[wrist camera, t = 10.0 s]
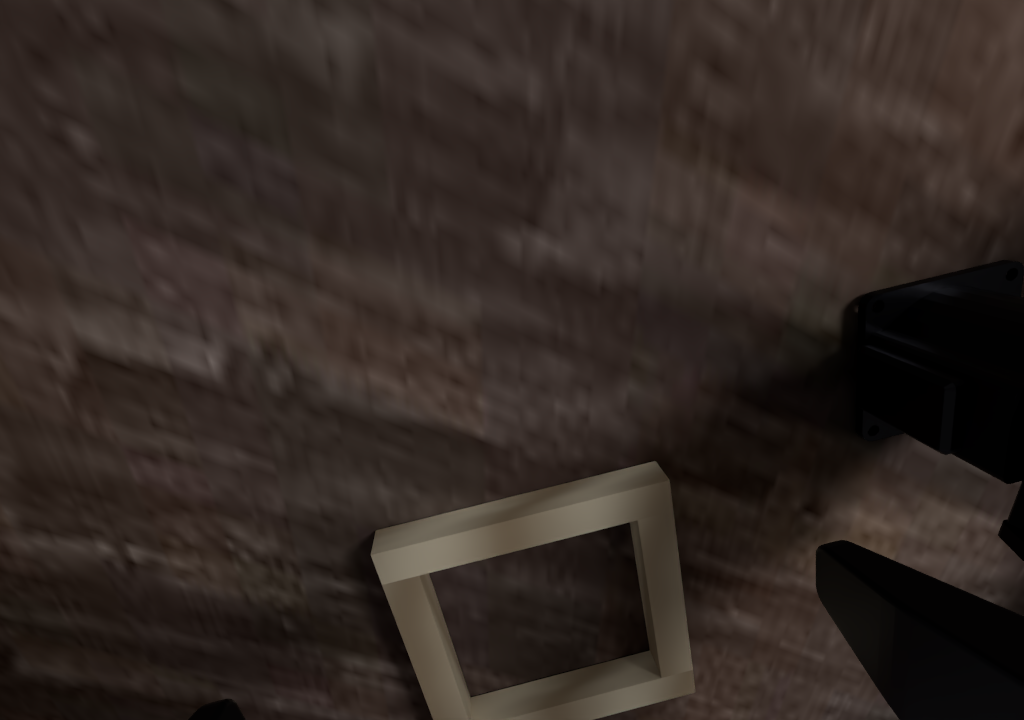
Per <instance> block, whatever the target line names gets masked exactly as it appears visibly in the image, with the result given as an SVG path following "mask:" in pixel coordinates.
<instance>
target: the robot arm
mask: <svg viewBox="0 0 1024 720" xmlns="http://www.w3.org/2000/svg"><path fill="white" fill-rule="evenodd" d="M1006 274H1007V275H1006ZM1023 275H1024V267H1023V265H1022V263H1020V262H1017V261H1010V260H1002V261H998V262H994V263H990V264H986V265H982V266H977V267H973V268H969V269H965V270H961V271H957V272H952V273H948V274H944V275H940V276H936V277H932V278H927V279H923V280H919V281H915V282H911V283H907V284H902V285H898V286H894V287H890V288H886V289H882V290H877V291H873V292H870V293H868V294H866V295H865V296H864V297H862V299H861V301H860V302H859V307H858V344H857V385H856V426H855V430H856V433H857V435H858V436H860V437H861V438H863V439H865V440H867V441H875V440H879V439H883V438H887V437H891V436H895V435H899V434H903V433H905V434H907V435H909V436H911V437H913V438H914V439H916V440H918V441H920V442H922V443H923V444H925V445H927V446H929V447H931V448H932V449H934V450H936V451H938V452H940V453H941V454H944V455H947V454H953V455H955V456H956V457H958V458H960V459H962V460H964V461H966V462H968V463H969V464H971V465H973V466H975V467H977V468H979V469H980V470H982V471H984V472H986V473H988V474H990V475H991V476H993V477H995V478H997V479H999V480H1001V481H1002V482H1004V483H1006V484H1011V483H1015V482H1019V481H1022V483H1021V486H1020V489H1019V491H1018V494H1017V496H1016V499H1015V502H1014V504H1013V507H1012V510H1011V512H1010V515H1009V517H1008V520H1003V523H1002V526H1001V528H1000V531H999V533H998V536H999V537H1000V538H1001V539H1002V540H1003V541H1004V542H1005V543H1006V544H1007V545H1008V546H1009V547H1010V548H1011V549H1012V550H1013V551H1014V552H1015V553H1016V554H1017V555H1018V556H1019V557H1020V558H1021V559H1022V560H1023V561H1024V298H1023V297H1021V290H1022V282H1023ZM875 302H877V304H876V306H875V308H874V309H872V306H873V304H874V303H875ZM870 427H871V429H870V430H869V428H870ZM868 430H869V431H868ZM816 589H817V593H818V595H819V598H820V600H821V602H822V604H823V605H824V607H825V608H826V610H827V611H828V613H829V615H830V616H831V618H832V619H833V621H834V622H835V624H836V625H837V627H838V628H839V630H840V631H841V633H842V635H843V636H844V638H845V639H846V641H847V642H848V644H849V645H850V647H851V648H852V650H853V651H854V653H855V655H856V656H857V658H858V659H859V661H860V662H861V664H862V665H863V667H864V668H865V670H866V671H867V673H868V674H869V676H870V678H871V679H872V681H873V682H874V684H875V685H876V687H877V688H878V690H879V691H880V693H881V694H882V696H883V697H884V699H885V700H886V701H887V703H888V704H889V706H890V707H891V708H892V710H893V711H894V712H895V714H896V715H897V716H898V718H899V719H900V720H1024V616H1022V615H1019V614H1017V613H1015V612H1012V611H1010V610H1008V609H1005V608H1003V607H1001V606H998V605H996V604H994V603H991V602H989V601H987V600H984V599H982V598H980V597H977V596H975V595H973V594H970V593H968V592H966V591H963V590H961V589H959V588H956V587H954V586H952V585H949V584H947V583H945V582H942V581H940V580H938V579H936V578H933V577H931V576H929V575H926V574H924V573H922V572H919V571H917V570H915V569H912V568H910V567H908V566H905V565H903V564H901V563H898V562H896V561H894V560H891V559H889V558H887V557H884V556H882V555H880V554H877V553H875V552H873V551H870V550H868V549H866V548H863V547H861V546H859V545H856V544H854V543H852V542H849V541H845V540H840V541H835V542H832V543H828V544H824V545H821V546H819V547H818V549H817V550H816ZM188 720H246V719H245V717H244V716H243V714H242V712H241V710H240V709H239V707H238V705H237V703H236V702H235V701H233V700H232V699H224V700H220V701H216V702H212V703H208V704H205V705H203V706H201V707H200V708H199V709H198V710H197V711H196V712H195V713H194V714H193V715H192V716H191V717H190V718H189V719H188Z"/></svg>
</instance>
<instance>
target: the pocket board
mask: <svg viewBox="0 0 1024 720" xmlns="http://www.w3.org/2000/svg"><path fill="white" fill-rule="evenodd" d="M629 522H630V528H631V535H632V541H633V547H634V554H635V560H636V566H637V573H638V579H639V585H640V592H641V598H642V604H643V610H644V617H645V623H646V629H647V636H648V642H649V648H650V651H646V652H642V653H638V654H634V655H631V656H627V657H623V658H619V659H615V660H612V661H608V662H604V663H600V664H596V665H593V666H589V667H585V668H581V669H577V670H574V671H570V672H566V673H562V674H558V675H555V676H551V677H547V678H543V679H539V680H536V681H532V682H528V683H524V684H520V685H516V686H513V687H509V688H505V689H501V690H497V691H494V692H490V693H486V694H482V695H478V696H475V697H470V694H469V691H468V688H467V685H466V682H465V679H464V676H463V673H462V670H461V667H460V664H459V661H458V658H457V656H456V653H455V650H454V647H453V644H452V641H451V638H450V635H449V632H448V629H447V626H446V623H445V620H444V617H443V614H442V611H441V608H440V605H439V602H438V599H437V596H436V593H435V590H434V587H433V584H432V581H431V578H430V575H429V573H431V572H435V571H439V570H443V569H447V568H451V567H455V566H459V565H463V564H467V563H471V562H475V561H479V560H483V559H487V558H491V557H495V556H499V555H503V554H507V553H511V552H515V551H518V550H522V549H526V548H530V547H534V546H538V545H542V544H546V543H550V542H554V541H558V540H562V539H566V538H570V537H574V536H578V535H582V534H586V533H590V532H594V531H598V530H602V529H605V528H609V527H613V526H617V525H621V524H625V523H629ZM371 557H372V560H373V563H374V565H375V568H376V571H377V573H378V576H379V578H380V581H381V584H382V586H383V589H384V592H385V594H386V597H387V599H388V602H389V605H390V607H391V610H392V613H393V615H394V618H395V620H396V623H397V626H398V628H399V631H400V634H401V636H402V639H403V642H404V644H405V647H406V649H407V652H408V655H409V657H410V660H411V663H412V665H413V668H414V670H415V673H416V676H417V678H418V681H419V684H420V686H421V689H422V691H423V694H424V697H425V699H426V702H427V705H428V707H429V710H430V713H431V715H432V718H433V720H594V719H598V718H601V717H605V716H609V715H613V714H616V713H620V712H624V711H628V710H631V709H635V708H639V707H643V706H646V705H650V704H654V703H658V702H661V701H665V700H669V699H673V698H676V697H680V696H684V695H688V694H691V693H695V684H694V676H693V668H692V660H691V652H690V643H689V635H688V627H687V619H686V610H685V602H684V594H683V586H682V577H681V569H680V561H679V553H678V544H677V536H676V528H675V520H674V512H673V503H672V495H671V487H670V480H669V479H668V477H667V476H666V475H665V473H664V472H663V470H662V469H661V468H660V466H659V465H658V464H657V462H656V461H653V462H649V463H645V464H641V465H637V466H633V467H629V468H625V469H621V470H617V471H613V472H609V473H605V474H601V475H597V476H593V477H589V478H585V479H581V480H577V481H573V482H569V483H565V484H561V485H557V486H553V487H548V488H544V489H540V490H536V491H532V492H528V493H524V494H520V495H516V496H512V497H508V498H504V499H500V500H496V501H492V502H488V503H484V504H480V505H476V506H472V507H468V508H464V509H460V510H456V511H452V512H448V513H444V514H440V515H436V516H432V517H428V518H424V519H420V520H416V521H412V522H408V523H404V524H400V525H396V526H392V527H388V528H384V529H380V530H376V532H375V537H374V542H373V546H372V551H371Z"/></svg>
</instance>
